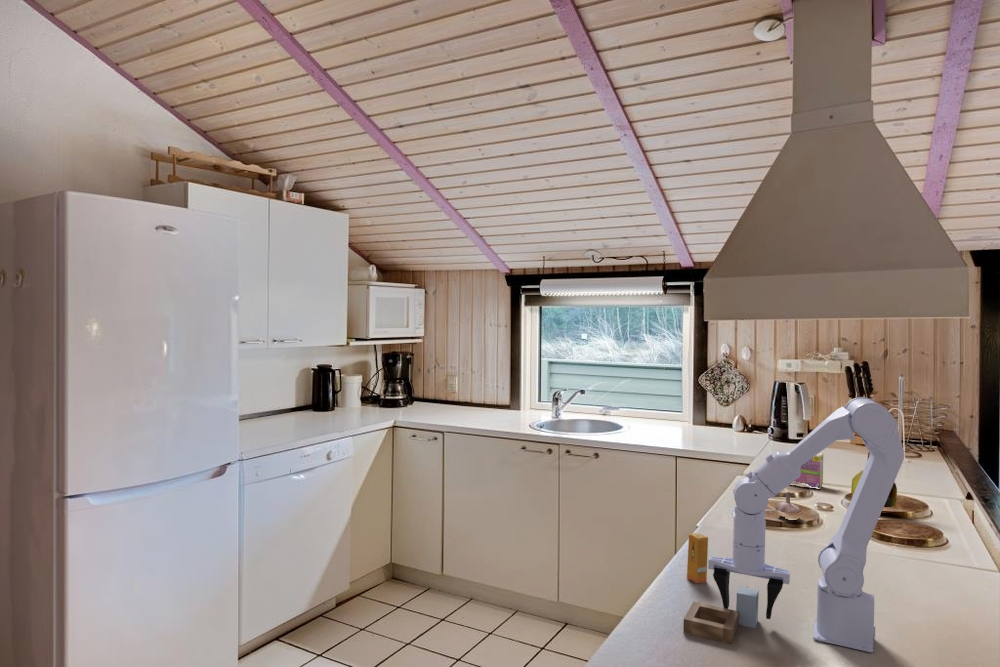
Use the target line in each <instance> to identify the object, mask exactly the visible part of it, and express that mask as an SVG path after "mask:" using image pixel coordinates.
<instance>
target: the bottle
mask: <svg viewBox="0 0 1000 667" xmlns="http://www.w3.org/2000/svg"><path fill="white" fill-rule="evenodd" d="M869 456H870V453H869V452H867V459H868V458H869ZM863 470H864V469H863ZM863 470H861V471H859V472H858V473H857V474H855V475H854V476H853V477H852V481H851V489H850V492H851V493H850V494H851V496H850V500H851V499H852V497H853V494H854V492H855V490H856V487H857V485H858V482H859V480H860V477H861V475H862V473H863ZM897 497H898V488H897V484H896V482H895V481H894V484H893V486H892V488H891V491H890V493H889V495H888V498H887V500H886V503H885V505H884V507H892V506H895V507H896V503H897Z"/></svg>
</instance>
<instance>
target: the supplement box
mask: <svg viewBox="0 0 1000 667" xmlns="http://www.w3.org/2000/svg"><path fill="white" fill-rule="evenodd" d="M708 547H709V536H705V535H703V534H702V533H689V534H688V549H687V565H686V566H687V568H686V578H687V579H688V580H690V581H691V582H693V583H695V584H702V583H706V582H707V581H708V580H707V579H708V578H707V577H708V551H709V548H708Z"/></svg>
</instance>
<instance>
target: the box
mask: <svg viewBox="0 0 1000 667" xmlns="http://www.w3.org/2000/svg"><path fill="white" fill-rule="evenodd" d="M795 481H796V482H800V483H805V484H808V485H809V486H811V487H818V488H821V486H822V484H823V485H824V453H821V452H820V453H818V454H817V455H815V456H814V457H813V458H811V459H810V460H809V461H807V462H806V463H804V464H803V465H802V466H801V469H800V477H798V478H797V479H796V480H795ZM821 489H822V488H821Z"/></svg>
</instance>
